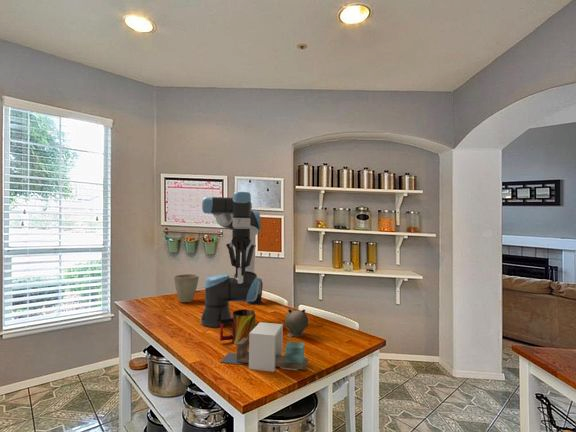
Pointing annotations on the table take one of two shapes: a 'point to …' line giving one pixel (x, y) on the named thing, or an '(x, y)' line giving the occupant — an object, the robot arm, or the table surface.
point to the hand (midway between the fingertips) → (240, 282)
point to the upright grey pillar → (265, 346)
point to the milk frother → (258, 300)
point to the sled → (290, 360)
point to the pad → (288, 368)
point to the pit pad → (231, 359)
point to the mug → (239, 325)
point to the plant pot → (186, 286)
